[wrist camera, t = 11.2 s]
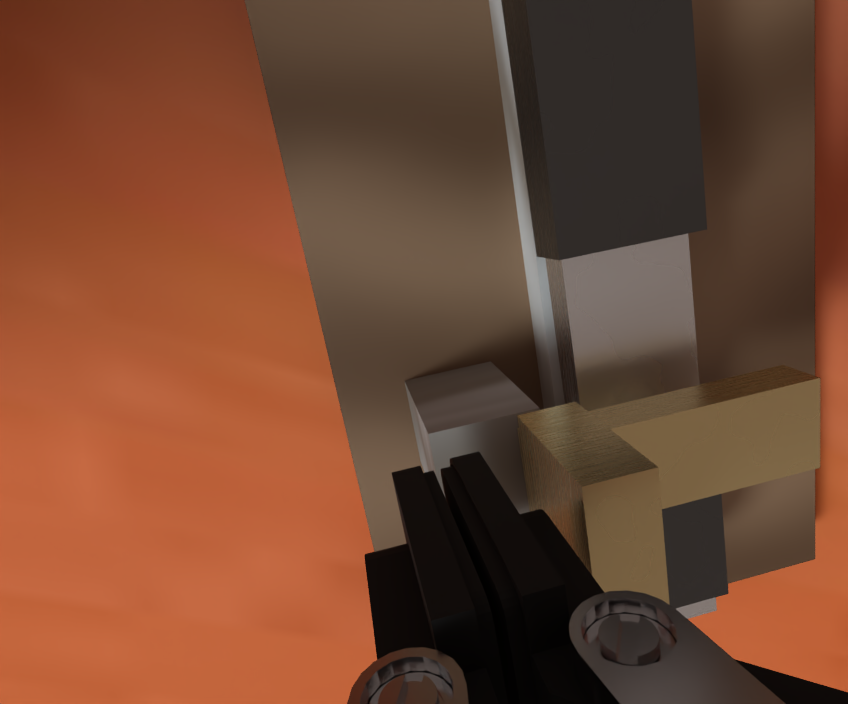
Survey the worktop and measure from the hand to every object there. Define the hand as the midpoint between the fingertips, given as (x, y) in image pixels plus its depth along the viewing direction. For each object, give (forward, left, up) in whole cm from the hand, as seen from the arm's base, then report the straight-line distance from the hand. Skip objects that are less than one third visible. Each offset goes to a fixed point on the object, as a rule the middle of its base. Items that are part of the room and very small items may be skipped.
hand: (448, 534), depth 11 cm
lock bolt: (+5, 0, -2) cm, 5 cm away
